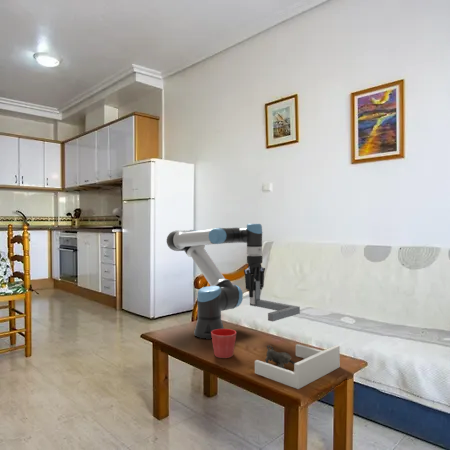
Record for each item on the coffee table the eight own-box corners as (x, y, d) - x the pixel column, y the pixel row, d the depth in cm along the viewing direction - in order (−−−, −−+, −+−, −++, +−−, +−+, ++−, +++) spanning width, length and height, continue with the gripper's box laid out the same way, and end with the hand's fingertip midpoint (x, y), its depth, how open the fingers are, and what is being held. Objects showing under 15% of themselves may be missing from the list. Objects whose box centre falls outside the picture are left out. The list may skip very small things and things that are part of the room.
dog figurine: (262, 366, 143) (262, 346, 143) (271, 361, 148) (271, 343, 148) (289, 373, 135) (289, 353, 136) (297, 368, 140) (297, 349, 140)
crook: (226, 310, 171) (225, 284, 171) (253, 304, 184) (253, 280, 184) (272, 321, 151) (272, 292, 151) (300, 313, 165) (299, 286, 165)
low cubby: (254, 373, 136) (254, 351, 136) (297, 354, 155) (297, 335, 155) (298, 389, 122) (298, 364, 122) (339, 367, 141) (339, 345, 141)
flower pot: (239, 351, 159) (239, 329, 160) (233, 360, 149) (232, 336, 149) (215, 349, 162) (215, 327, 162) (207, 358, 152) (207, 334, 152)
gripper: (249, 256, 173) (249, 307, 173) (271, 254, 185) (271, 301, 185) (237, 255, 179) (237, 304, 179) (259, 253, 190) (259, 299, 190)
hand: (254, 303), depth 182 cm, fingers closed on crook, 3 cm apart
